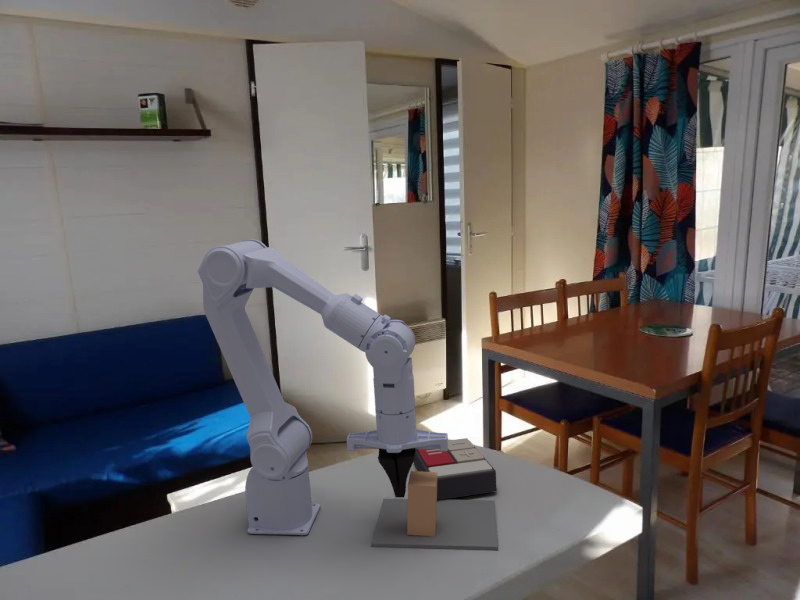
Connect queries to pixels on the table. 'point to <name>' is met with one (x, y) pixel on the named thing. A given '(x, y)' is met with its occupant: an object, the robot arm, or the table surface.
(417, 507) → the block
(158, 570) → the table surface
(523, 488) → the table surface
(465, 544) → the mat
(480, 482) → the calculator
